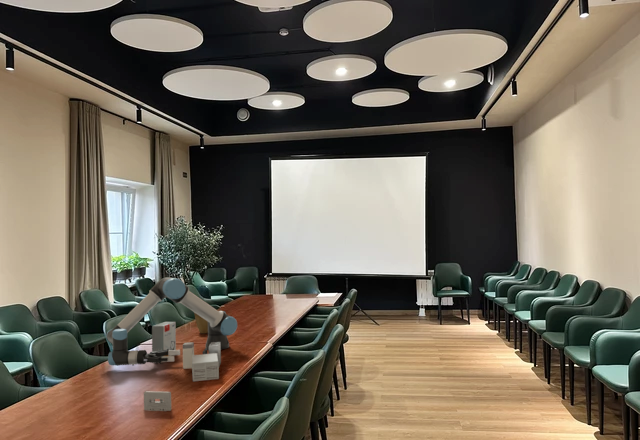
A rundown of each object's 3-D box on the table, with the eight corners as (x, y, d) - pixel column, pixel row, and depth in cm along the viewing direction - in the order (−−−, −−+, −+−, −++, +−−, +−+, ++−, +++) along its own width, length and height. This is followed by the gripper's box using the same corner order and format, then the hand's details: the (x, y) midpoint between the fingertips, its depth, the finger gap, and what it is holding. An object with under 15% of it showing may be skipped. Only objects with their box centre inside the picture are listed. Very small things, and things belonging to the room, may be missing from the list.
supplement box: (192, 372, 254) (192, 355, 255) (217, 370, 258) (217, 352, 258) (192, 381, 238) (191, 363, 238) (219, 379, 241) (218, 360, 242)
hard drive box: (163, 360, 282) (162, 326, 283) (151, 359, 284) (151, 326, 285) (176, 353, 298) (175, 321, 298) (165, 353, 299) (164, 321, 300)
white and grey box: (183, 368, 262) (182, 345, 262) (185, 366, 268) (184, 342, 268) (199, 367, 263) (199, 344, 263) (201, 365, 268) (200, 342, 269)
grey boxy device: (201, 368, 260) (201, 346, 261) (204, 363, 271) (204, 342, 271) (218, 368, 261) (217, 346, 261) (220, 363, 271) (220, 341, 272)
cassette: (172, 409, 200) (171, 391, 200) (170, 411, 198) (169, 392, 198) (145, 409, 202) (145, 390, 202) (143, 410, 200) (142, 392, 200)
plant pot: (218, 331, 363) (218, 310, 364) (204, 335, 351) (204, 313, 351) (205, 329, 371) (204, 309, 372) (190, 333, 359) (189, 312, 359)
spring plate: (202, 366, 262) (202, 351, 262) (205, 362, 270) (205, 348, 270) (205, 366, 262) (204, 351, 262) (207, 362, 270) (207, 348, 270)
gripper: (145, 358, 275) (182, 356, 277) (130, 370, 251) (171, 368, 252) (144, 345, 276) (182, 343, 277) (130, 356, 251) (171, 354, 252)
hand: (177, 355), depth 264 cm, fingers open, 13 cm apart
